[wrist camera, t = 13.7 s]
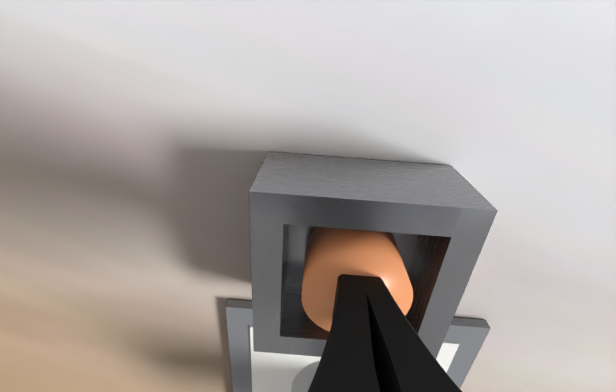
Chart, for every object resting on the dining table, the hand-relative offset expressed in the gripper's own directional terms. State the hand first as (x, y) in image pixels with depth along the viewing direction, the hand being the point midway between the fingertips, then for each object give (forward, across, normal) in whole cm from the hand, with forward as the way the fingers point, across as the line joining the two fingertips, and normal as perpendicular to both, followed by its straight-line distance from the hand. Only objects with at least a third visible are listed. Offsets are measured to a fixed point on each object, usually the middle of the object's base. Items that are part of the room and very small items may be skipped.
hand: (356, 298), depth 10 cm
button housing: (+4, 0, 0) cm, 4 cm away
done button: (+2, 0, 0) cm, 2 cm away
